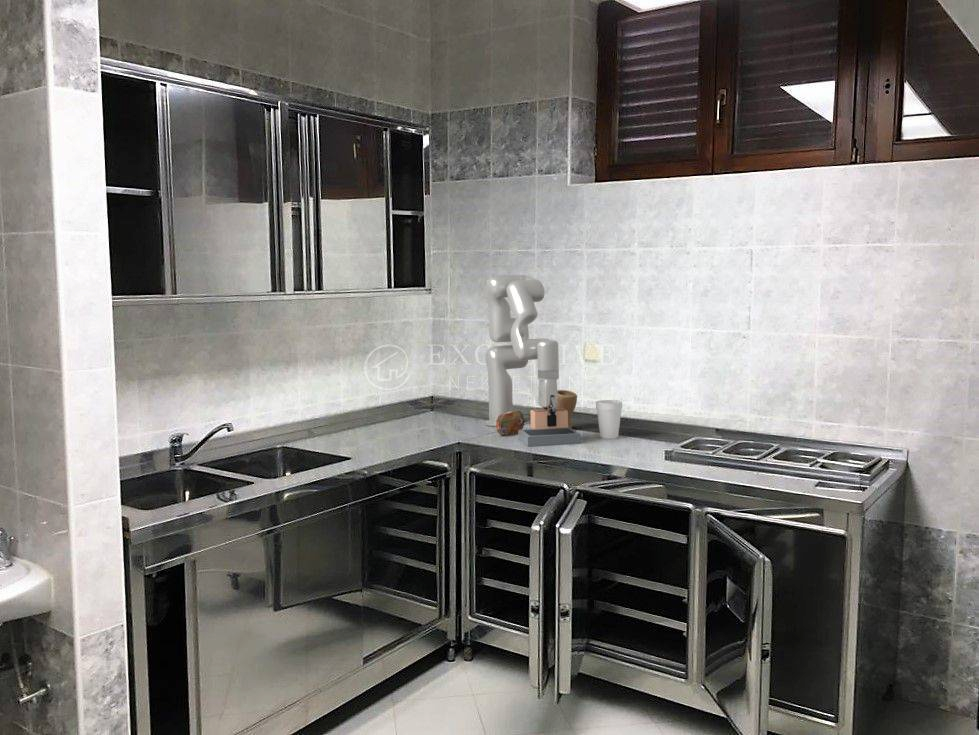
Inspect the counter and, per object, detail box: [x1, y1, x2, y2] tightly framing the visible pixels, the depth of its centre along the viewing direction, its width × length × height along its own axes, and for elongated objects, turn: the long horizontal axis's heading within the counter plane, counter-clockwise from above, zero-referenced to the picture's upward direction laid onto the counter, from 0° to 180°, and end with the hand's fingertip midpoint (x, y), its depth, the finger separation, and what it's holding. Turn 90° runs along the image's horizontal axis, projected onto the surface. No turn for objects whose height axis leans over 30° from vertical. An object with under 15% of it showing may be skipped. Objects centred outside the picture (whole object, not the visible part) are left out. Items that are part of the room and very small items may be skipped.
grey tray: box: [517, 427, 582, 448], centre depth 310 cm, size 14×19×4 cm
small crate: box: [530, 408, 568, 430], centre depth 309 cm, size 6×12×6 cm, turn 101°
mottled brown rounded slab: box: [495, 410, 525, 437], centre depth 327 cm, size 15×3×8 cm, turn 143°
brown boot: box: [556, 389, 578, 428], centre depth 335 cm, size 15×12×15 cm
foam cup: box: [595, 399, 623, 440], centre depth 315 cm, size 10×9×13 cm
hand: (549, 424), depth 310 cm, fingers closed on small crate, 6 cm apart
